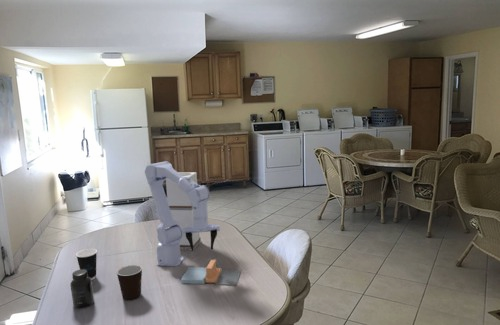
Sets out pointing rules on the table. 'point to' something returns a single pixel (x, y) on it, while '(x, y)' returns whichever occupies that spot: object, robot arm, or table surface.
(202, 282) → the light blue notched panel
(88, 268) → the dixie cup
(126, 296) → the coffee mug
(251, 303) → the table surface
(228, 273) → the pad
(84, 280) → the supplement bottle
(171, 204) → the tall white rectangular box
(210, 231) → the robot arm
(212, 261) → the stub
